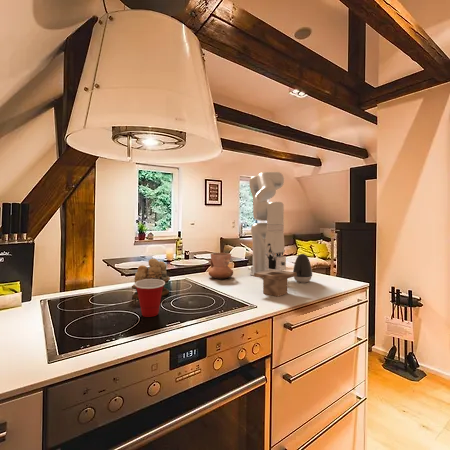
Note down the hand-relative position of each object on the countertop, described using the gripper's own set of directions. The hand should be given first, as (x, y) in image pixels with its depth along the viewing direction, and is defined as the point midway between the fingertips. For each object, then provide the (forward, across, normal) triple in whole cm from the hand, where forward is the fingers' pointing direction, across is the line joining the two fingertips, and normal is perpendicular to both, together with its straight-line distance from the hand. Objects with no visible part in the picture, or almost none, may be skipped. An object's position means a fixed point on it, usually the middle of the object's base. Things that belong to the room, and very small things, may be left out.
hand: (275, 267), depth 131 cm
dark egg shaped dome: (+12, -30, -2) cm, 32 cm away
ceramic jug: (+12, -8, -43) cm, 45 cm away
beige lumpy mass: (+12, +40, -40) cm, 58 cm away
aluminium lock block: (+1, 0, 0) cm, 1 cm away
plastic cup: (+12, +55, -18) cm, 59 cm away
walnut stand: (+12, 0, 0) cm, 12 cm away
